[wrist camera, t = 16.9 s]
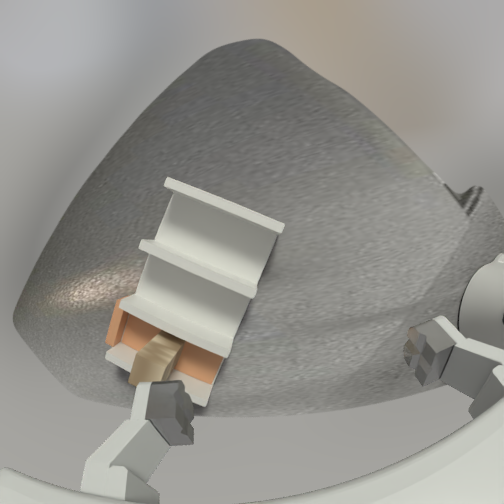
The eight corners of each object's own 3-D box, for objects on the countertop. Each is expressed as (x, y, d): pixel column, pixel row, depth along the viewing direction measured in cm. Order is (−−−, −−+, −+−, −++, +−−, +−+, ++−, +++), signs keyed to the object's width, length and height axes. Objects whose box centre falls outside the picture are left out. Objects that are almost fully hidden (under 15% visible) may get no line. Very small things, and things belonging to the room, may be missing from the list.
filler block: (187, 338, 32) (165, 368, 23) (178, 361, 32) (155, 396, 23) (164, 327, 32) (136, 353, 23) (156, 351, 32) (127, 382, 23)
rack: (280, 227, 33) (285, 224, 28) (211, 387, 33) (205, 407, 28) (171, 183, 33) (157, 173, 28) (114, 341, 33) (96, 353, 28)
